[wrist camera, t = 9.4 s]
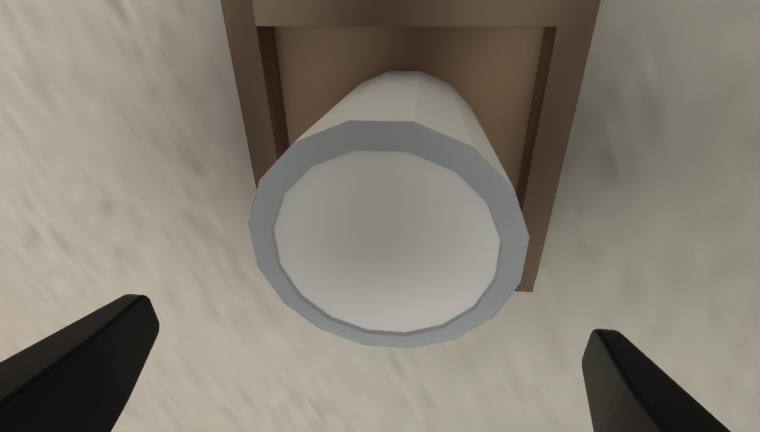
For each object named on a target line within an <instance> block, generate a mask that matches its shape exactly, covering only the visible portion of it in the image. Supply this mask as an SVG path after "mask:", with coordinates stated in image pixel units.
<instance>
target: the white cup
mask: <svg viewBox="0 0 760 432" xmlns="http://www.w3.org/2000/svg"><path fill="white" fill-rule="evenodd" d="M249 228H250V233H251V237H252V242H253V246H254V251H255V255H256V259H257V264H258V267H259V268H260V270H261V271H262V273H263V274H264V275H265V277H266V278H267V280H268V281H269V283H270V284H271V285H272V287H273V288H274V290H275V291H276V292H277V294H278V295H279V297H280V298H281V299H282V301H283V302H284V303H285V304H287V305H288V306H289V307H291V308H292V309H293V310H295V311H296V312H298V313H299V314H300V315H302V316H303V317H304V318H306V319H307V320H309V321H310V322H311V323H313V324H314V325H315V326H317V327H318V328H320V329H322V330H324V331H327V332H330V333H333V334H335V335H338V336H341V337H344V338H347V339H349V340H352V341H355V342H358V343H360V344H363V345H374V346H387V347H399V348H414V347H419V346H424V345H428V344H433V343H438V342H443V341H448V340H453V339H456V338H458V337H459V336H461V335H463V334H465V333H466V332H468V331H470V330H472V329H473V328H475V327H477V326H479V325H480V324H482V323H484V322H486V321H487V320H489V319H491V318H493V317H494V316H495V314H496V313H497V312H498V311H499V309H500V308H501V307H502V305H503V304H504V303H505V302H506V300H507V299H508V298H509V296H510V295H511V294H512V293H513V291H514V290H515V289H516V287H517V286H518V285H519V284H520V282H521V278H522V273H523V268H524V263H525V258H526V253H527V247H528V242H529V234H528V231H527V228H526V225H525V222H524V218H523V215H522V212H521V209H520V206H519V203H518V199H517V196H516V193H515V190H514V188H513V186H512V184H511V182H510V180H509V178H508V176H507V174H506V172H505V171H504V169H503V167H502V165H501V163H500V161H499V159H498V157H497V155H496V154H495V152H494V150H493V148H492V146H491V144H490V142H489V140H488V138H487V137H486V135H485V133H484V131H483V129H482V127H481V125H480V123H479V121H478V120H477V118H476V116H475V114H474V112H473V110H472V108H471V106H470V105H469V104H468V103H467V102H466V101H465V100H464V99H463V98H462V96H461V95H460V94H459V93H458V92H457V91H456V90H455V89H454V88H453V87H452V86H451V85H450V84H449V83H447V82H445V81H442V80H440V79H438V78H435V77H433V76H431V75H429V74H426V73H424V72H422V71H388V72H386V73H383V74H381V75H379V76H376V77H374V78H372V79H369V80H367V81H365V82H362V83H361V84H359V85H358V86H357V87H356V88H355V89H354V90H353V91H352V92H350V93H349V94H348V95H347V96H346V97H345V98H344V99H342V100H341V101H340V102H339V103H338V104H337V105H336V106H335V107H333V108H332V109H331V110H330V111H329V112H328V113H327V114H325V115H324V116H323V117H322V118H321V119H320V120H319V121H317V122H316V123H315V124H314V125H313V126H312V127H311V128H310V129H308V130H307V131H306V132H305V133H304V134H303V135H302V136H300V137H299V138H298V139H297V140H296V141H295V142H294V143H293V144H292V145H291V146H290V147H289V148H288V149H287V150H286V151H285V153H284V154H283V155H282V156H281V157H280V158H279V159H278V160H277V161H276V162H275V164H274V165H273V166H272V167H271V168H270V169H269V170H268V171H267V172H266V173H265V175H264V176H263V177H262V178H261V179H260V180H259V184H258V188H257V192H256V196H255V200H254V204H253V208H252V212H251V216H250V220H249Z"/></svg>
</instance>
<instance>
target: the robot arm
mask: <svg viewBox="0 0 760 432" xmlns="http://www.w3.org/2000/svg"><path fill="white" fill-rule="evenodd" d="M158 332H159V321H158V318H157V316H156V313H155V311H154V308H153V306H152V304H151V301H150V299H149V298H148V297H147V296H145V295H136V294H127V295H124V296H122V297H120V298H118V299H116V300H114V301H113V302H111V303H109V304H107V305H105V306H103V307H102V308H100V309H98V310H96V311H94V312H92V313H91V314H89V315H87V316H85V317H83V318H81V319H79V320H78V321H76V322H74V323H72V324H70V325H68V326H67V327H65V328H63V329H61V330H59V331H57V332H56V333H54V334H52V335H50V336H48V337H46V338H44V339H43V340H41V341H39V342H37V343H35V344H33V345H32V346H30V347H28V348H26V349H24V350H22V351H21V352H19V353H17V354H15V355H13V356H11V357H10V358H8V359H6V360H4V361H2V362H0V432H111V430H112V429H113V427H114V425H115V423H116V422H117V420H118V418H119V416H120V414H121V413H122V411H123V409H124V407H125V405H126V403H127V402H128V399H129V397H130V395H131V393H132V391H133V389H134V387H135V385H136V382H137V380H138V378H139V376H140V373H141V371H142V369H143V367H144V364H145V362H146V360H147V358H148V355H149V353H150V351H151V349H152V347H153V344H154V342H155V340H156V338H157V335H158ZM582 370H583V376H584V381H585V387H586V392H587V397H588V403H589V408H590V413H591V419H592V424H593V429H594V432H731V431H729V430H728V429H727V428H726V427H725V426H724V425H723V424H722V423H721V422H719V421H718V420H717V419H716V418H715V417H714V416H713V415H712V414H711V413H709V412H708V411H707V410H706V409H705V408H704V407H703V406H702V405H700V404H699V403H698V402H697V401H696V400H695V399H694V398H693V397H692V396H690V395H689V394H688V393H687V392H686V391H685V390H684V389H683V388H682V387H680V386H679V385H678V384H677V383H676V382H675V381H674V380H673V379H672V378H670V377H669V376H668V375H667V374H666V373H665V372H664V371H663V370H661V369H660V368H659V367H658V366H657V365H656V364H655V363H654V362H653V361H651V360H650V359H649V358H648V357H647V356H646V355H645V354H644V353H643V352H641V351H640V350H639V349H638V348H637V347H636V346H635V345H634V344H633V343H631V342H630V341H629V340H628V339H627V338H626V337H625V336H624V335H622V334H621V333H620V332H618V331H616V330H608V329H595V330H593V331H592V333H591V335H590V338H589V341H588V344H587V346H586V349H585V352H584V355H583V358H582Z"/></svg>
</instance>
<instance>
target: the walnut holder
mask: <svg viewBox="0 0 760 432" xmlns="http://www.w3.org/2000/svg"><path fill="white" fill-rule="evenodd" d="M221 5H222V11H223V16H224V21H225V26H226V32H227V37H228V42H229V47H230V52H231V58H232V63H233V68H234V73H235V78H236V84H237V89H238V94H239V99H240V105H241V110H242V115H243V120H244V125H245V131H246V136H247V141H248V146H249V151H250V157H251V162H252V167H253V172H254V178H255V183H256V188H258V184H259V180H260V179H261V178H262V177H263V176H264V175H265V173H266V172H267V171H268V170H269V169H270V168H271V167H272V166H273V165H274V164H275V162H276V161H277V160H278V159H279V158H280V157H281V156H282V155H283V154H284V153H285V151H286V150H287V149H288V148H289V147H290V146H291V145H292V144H293V143H294V142H295V141H296V140H297V139H298V138H299V137H300V136H302V135H303V134H304V133H305V132H306V131H307V130H308V129H310V128H311V127H312V126H313V125H314V124H315V123H316V122H317V121H319V120H320V119H321V118H322V117H323V116H324V115H325V114H327V113H328V112H329V111H330V110H331V109H332V108H333V107H335V106H336V105H337V104H338V103H339V102H340V101H341V100H342V99H344V98H345V97H346V96H347V95H348V94H349V93H350V92H352V91H353V90H354V89H355V88H356V87H357V86H358V85H359V84H361V83H362V82H365V81H367V80H369V79H372V78H374V77H376V76H379V75H381V74H383V73H386V72H388V71H422V72H424V73H426V74H429V75H431V76H433V77H435V78H438V79H440V80H442V81H445V82H447V83H449V84H450V85H451V86H452V87H453V88H454V89H455V90H456V91H457V92H458V93H459V94H460V95H461V96H462V98H463V99H464V100H465V101H466V102H467V103H468V104H469V105H470V106H471V108H472V110H473V112H474V114H475V116H476V118H477V120H478V121H479V123H480V125H481V127H482V129H483V131H484V133H485V135H486V137H487V138H488V140H489V142H490V144H491V146H492V148H493V150H494V152H495V154H496V155H497V157H498V159H499V161H500V163H501V165H502V167H503V169H504V171H505V172H506V174H507V176H508V178H509V180H510V182H511V184H512V186H513V188H514V190H515V193H516V196H517V199H518V203H519V206H520V209H521V212H522V215H523V218H524V222H525V225H526V228H527V231H528V234H529V242H528V247H527V253H526V258H525V263H524V268H523V273H522V278H521V282H520V284H519V285H518V286H517V287H516V289H515V290H514V291H524V292H532V291H533V287H534V283H535V278H536V276H537V272H538V267H539V263H540V259H541V254H542V250H543V246H544V241H545V237H546V233H547V229H548V224H549V220H550V216H551V211H552V207H553V203H554V198H555V194H556V190H557V186H558V181H559V177H560V173H561V168H562V164H563V160H564V155H565V151H566V147H567V143H568V138H569V134H570V130H571V125H572V121H573V117H574V112H575V108H576V104H577V99H578V95H579V91H580V87H581V82H582V78H583V74H584V69H585V65H586V61H587V56H588V52H589V48H590V44H591V39H592V35H593V31H594V26H595V22H596V18H597V13H598V9H599V5H600V0H221Z"/></svg>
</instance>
